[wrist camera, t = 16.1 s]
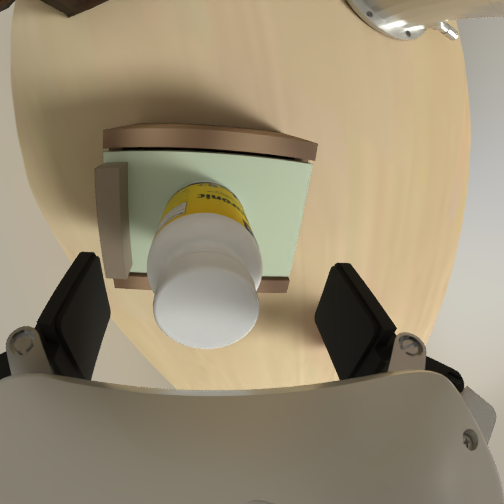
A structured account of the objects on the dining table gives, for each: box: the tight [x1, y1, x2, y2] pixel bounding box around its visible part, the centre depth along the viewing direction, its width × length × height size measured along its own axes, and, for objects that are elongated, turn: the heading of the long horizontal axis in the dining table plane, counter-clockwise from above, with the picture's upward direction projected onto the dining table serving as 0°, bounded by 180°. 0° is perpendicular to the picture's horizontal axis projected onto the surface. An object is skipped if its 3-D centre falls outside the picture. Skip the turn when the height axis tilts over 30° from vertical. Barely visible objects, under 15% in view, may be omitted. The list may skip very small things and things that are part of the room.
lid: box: [95, 150, 313, 279], centre depth 18 cm, size 14×9×3 cm, turn 83°
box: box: [103, 124, 318, 293], centre depth 22 cm, size 14×12×9 cm
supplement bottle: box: [147, 181, 263, 349], centre depth 14 cm, size 5×5×10 cm
